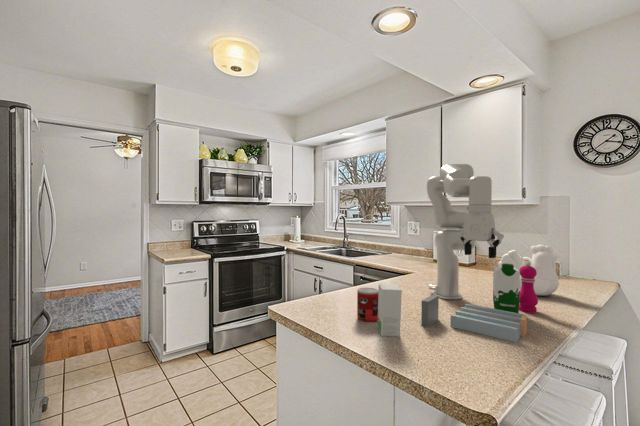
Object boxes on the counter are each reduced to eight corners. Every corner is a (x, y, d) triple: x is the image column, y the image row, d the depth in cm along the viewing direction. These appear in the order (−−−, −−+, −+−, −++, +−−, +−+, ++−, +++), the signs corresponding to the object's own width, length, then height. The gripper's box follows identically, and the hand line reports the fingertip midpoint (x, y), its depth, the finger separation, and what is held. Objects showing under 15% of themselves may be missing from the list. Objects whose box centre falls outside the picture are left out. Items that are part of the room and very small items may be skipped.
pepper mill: (541, 314, 124) (542, 263, 124) (521, 312, 125) (521, 263, 125) (532, 308, 131) (533, 261, 131) (514, 307, 132) (514, 260, 132)
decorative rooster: (563, 295, 151) (564, 244, 151) (550, 301, 142) (551, 246, 142) (508, 285, 171) (508, 240, 171) (494, 289, 162) (494, 242, 162)
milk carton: (495, 315, 122) (496, 264, 121) (491, 308, 130) (491, 261, 130) (521, 318, 119) (522, 266, 119) (515, 311, 127) (515, 262, 127)
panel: (428, 327, 109) (428, 301, 109) (421, 325, 111) (421, 300, 111) (438, 319, 117) (438, 295, 117) (431, 318, 119) (432, 294, 118)
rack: (450, 326, 110) (450, 310, 110) (465, 313, 124) (466, 299, 124) (521, 343, 96) (521, 325, 96) (529, 326, 110) (529, 311, 110)
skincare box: (377, 327, 109) (377, 282, 109) (396, 327, 109) (396, 283, 109) (381, 336, 101) (381, 288, 101) (401, 337, 101) (402, 289, 100)
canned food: (355, 315, 121) (355, 287, 121) (375, 315, 121) (375, 287, 121) (359, 323, 113) (359, 292, 113) (381, 322, 114) (381, 292, 114)
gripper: (453, 210, 121) (453, 254, 121) (496, 209, 106) (496, 260, 106) (466, 210, 125) (465, 253, 125) (509, 209, 110) (509, 258, 109)
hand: (479, 256), depth 115 cm, fingers open, 9 cm apart
